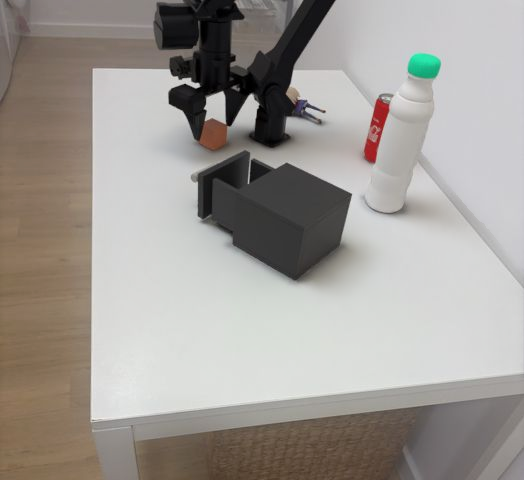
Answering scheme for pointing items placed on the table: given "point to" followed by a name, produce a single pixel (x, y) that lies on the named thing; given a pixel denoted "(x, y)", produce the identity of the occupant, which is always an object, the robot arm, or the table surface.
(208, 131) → the block
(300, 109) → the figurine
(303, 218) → the cabinet
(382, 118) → the beverage can
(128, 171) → the table surface
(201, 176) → the drawer
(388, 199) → the water bottle
